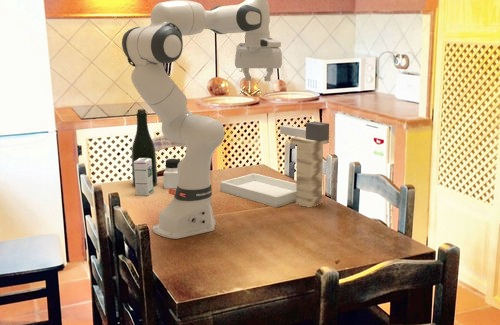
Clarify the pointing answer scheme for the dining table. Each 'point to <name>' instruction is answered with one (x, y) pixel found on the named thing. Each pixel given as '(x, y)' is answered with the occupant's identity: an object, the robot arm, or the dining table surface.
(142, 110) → the wine bottle
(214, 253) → the dining table surface
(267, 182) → the tray
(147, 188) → the syrup box
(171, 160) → the medicine bottle
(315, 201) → the ribbed beige tower
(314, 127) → the grey mallet
